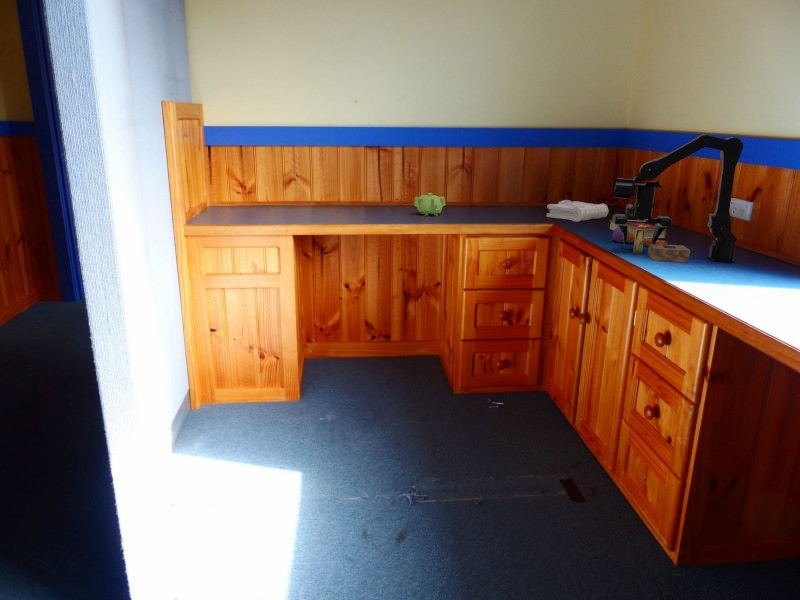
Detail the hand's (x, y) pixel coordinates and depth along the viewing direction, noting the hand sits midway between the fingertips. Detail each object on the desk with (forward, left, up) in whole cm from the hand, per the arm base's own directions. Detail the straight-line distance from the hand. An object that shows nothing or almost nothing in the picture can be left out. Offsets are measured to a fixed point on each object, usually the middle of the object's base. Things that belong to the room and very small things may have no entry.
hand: (638, 244), depth 215 cm
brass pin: (0, 0, -3) cm, 3 cm away
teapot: (+79, -61, -3) cm, 100 cm away
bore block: (-8, +8, -3) cm, 12 cm away
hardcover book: (-8, -39, -3) cm, 40 cm away
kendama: (-3, -14, -3) cm, 15 cm away
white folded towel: (+10, -76, -3) cm, 77 cm away
